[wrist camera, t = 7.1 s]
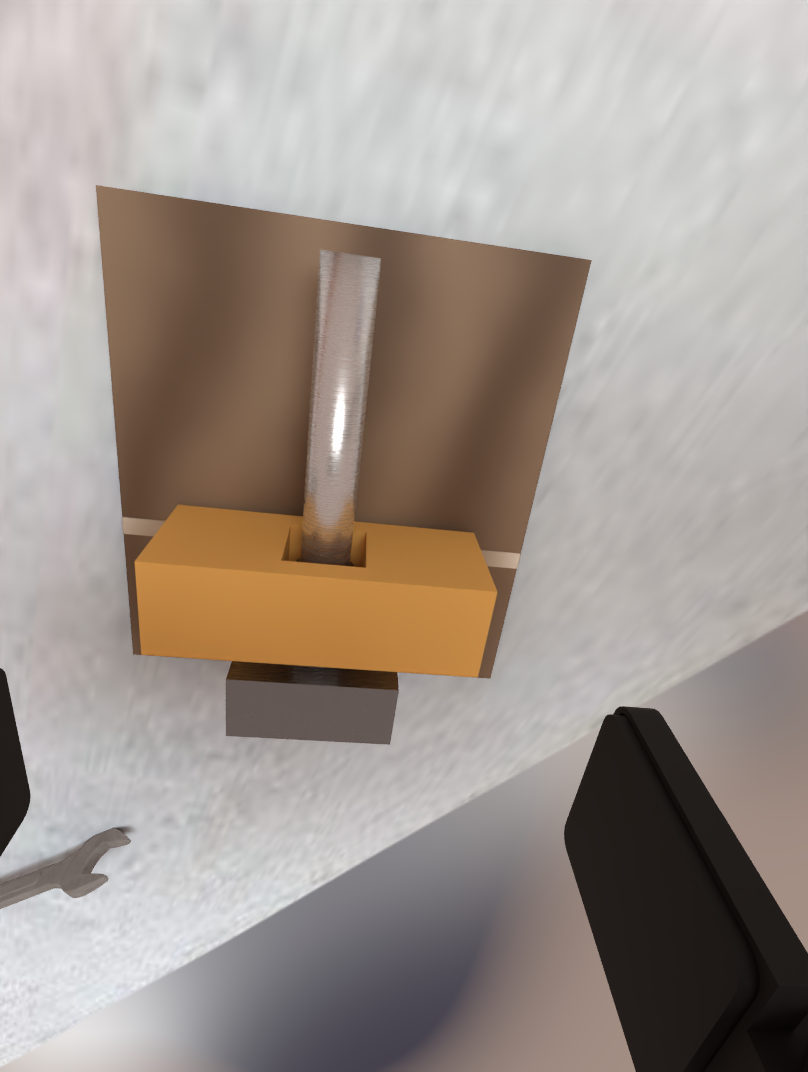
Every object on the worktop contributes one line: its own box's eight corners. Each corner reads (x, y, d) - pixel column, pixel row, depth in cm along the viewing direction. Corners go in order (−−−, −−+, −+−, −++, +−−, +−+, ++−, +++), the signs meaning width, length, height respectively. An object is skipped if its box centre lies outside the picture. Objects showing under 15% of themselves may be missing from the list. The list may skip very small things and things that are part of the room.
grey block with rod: (445, 268, 22) (466, 270, 17) (386, 671, 30) (389, 744, 25) (256, 240, 21) (227, 235, 17) (247, 662, 29) (225, 735, 25)
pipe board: (582, 260, 23) (591, 260, 22) (486, 666, 31) (490, 679, 30) (107, 188, 21) (95, 185, 20) (140, 642, 29) (133, 654, 28)
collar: (473, 532, 26) (497, 592, 22) (458, 607, 28) (477, 677, 23) (178, 504, 25) (134, 561, 20) (180, 585, 27) (141, 654, 22)
